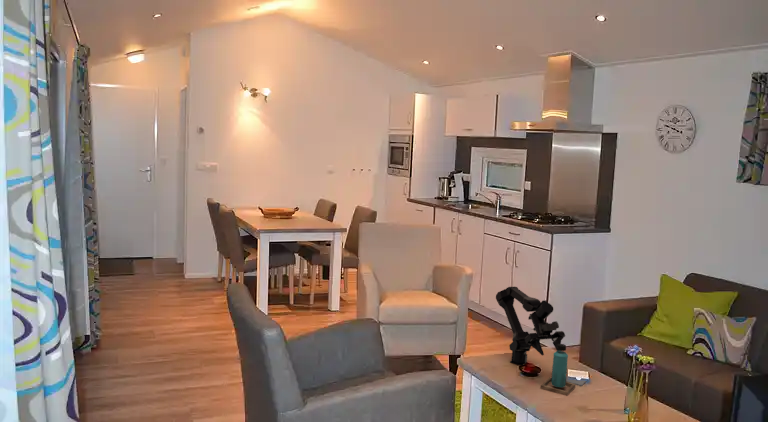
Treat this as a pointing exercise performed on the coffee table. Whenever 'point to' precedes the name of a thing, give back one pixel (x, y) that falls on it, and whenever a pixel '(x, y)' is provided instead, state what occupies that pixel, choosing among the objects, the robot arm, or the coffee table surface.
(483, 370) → the coffee table surface
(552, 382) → the beverage bottle
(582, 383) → the grey coaster
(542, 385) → the walnut collar
